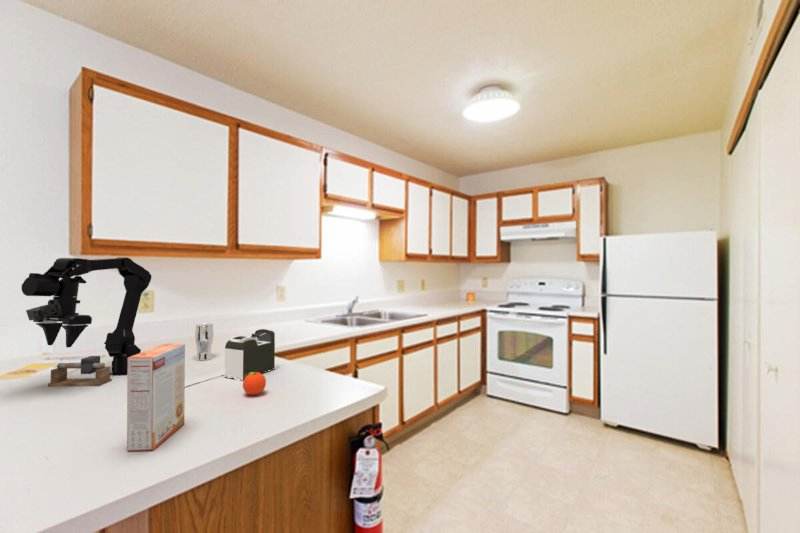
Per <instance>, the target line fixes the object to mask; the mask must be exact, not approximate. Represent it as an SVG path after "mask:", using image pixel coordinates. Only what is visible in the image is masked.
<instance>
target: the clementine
mask: <svg viewBox="0 0 800 533" xmlns="http://www.w3.org/2000/svg"><path fill="white" fill-rule="evenodd" d="M247 374H248V373H247ZM247 374H246V375H247ZM246 375H245V376H246ZM245 376H244V377H245ZM266 385H267V380H266V377H265V375H263V373H262V374H261V373H258V372H250V374H249V375H247V376H246V377H245V379H244V380H242V388H243V391H244V393H246V394H248V395H250V396H256V395H259V394H261V393H262V392H263V391H264V390H265V388H266Z"/></svg>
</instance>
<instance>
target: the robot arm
mask: <svg viewBox="0 0 800 533" xmlns="http://www.w3.org/2000/svg"><path fill="white" fill-rule="evenodd" d="M114 269H117V271H118V273H119V275H120V276H121V277H122V278H123V286H124V289H125V294H124V299H123V303H122V305H121V309H120V313H119V316H118V321H117V324H116V328H115V329H114V330H113V331H112V332H108V333H107V334H106V340H105V341H104V343H103V344H104V345H105V346H104V348H105V350H106V351H107V353H108V356H109V358H112V360H111V372H110V376H117V375H118V376H120V375H121V376H122V375H126V376H127V358H128V357H131V356H133V355H136V354H139V353H141V352H142V350H141V348H140V347H138V346H137V345H136V344H135V341H136V337H135V333H134V332H133V330H134V325H135V321H136V317H137V313H138V311H139V310H138V309H139V306H140V302H141V297H142V294H143V293H144V291H145V290H147V289H148V287H149V285H150V283H151V280H152V274H151V273H150V272H149V270H148V269H145V268H144V267H143V266H142V265H140V264H139V263H136V262H135V261H133V259H131V258H130V257H121V256H118V257H116V258H97V259H88V258H79V257H78V258H76V257H61V258H60V257H59V258H57V259H55V261H54V263H53V265H52V266H51V267H50V268H48V269H47V271H45V272H44V273H43V274H41V273H35V272H34V273H33V272H30V273H29V274H28V277H26V278H25V279H24V281H23V283H21V291H22V294H23V295H24V296H27V297H52V299H49V300H48V301H47V304H44V305H40V306H37V307H33V308H29V309H26V310H25V312H26V314H27V318H28V320H29V321H33V322H34V323H35V325H37V326H39V327H40V328H42V330H43V333H44V337H45V340H46V344H47V346H53V345H54V343H55V342H56V340H57V337H58V335H59V333H60V331H61V328H63V329H64V330H65V347H66V348H72V347H73V345H74V344H75V342H76V341H77V340H78V338H79V337H80V335H81V334H82V333H83V331H84V330H85V329H86V328H87V327H89V325H92V322H93V318H92V316H90V314H80V313H79V312H76V311H77V304H80V303H81V300H80V299H78V294H79V287H80V284H87V281H86V280H85V279H84V278H83V277H82V275H86V274H89V273H90V272H94V271H102V270H103V271H104V270H114Z"/></svg>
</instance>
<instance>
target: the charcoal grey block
mask: <svg viewBox="0 0 800 533" xmlns="http://www.w3.org/2000/svg"><path fill="white" fill-rule="evenodd" d="M80 363H81V368H80V375H91V374H94V373H95V370H97V369H99V368H93V363H101V356H100V355H90V356H89V355H88V356H87V357H83V358H81V359H80Z"/></svg>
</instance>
